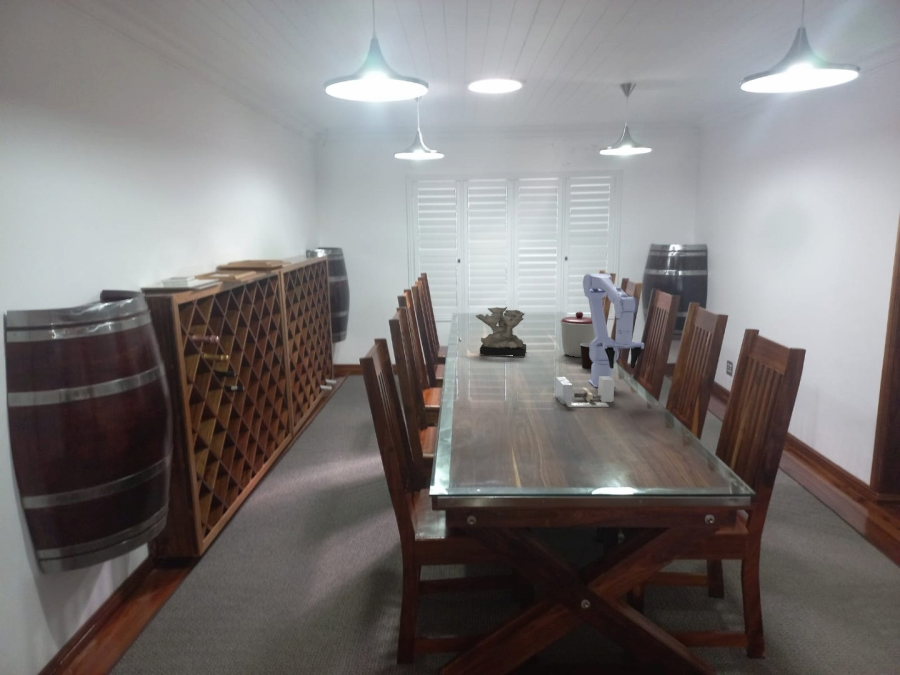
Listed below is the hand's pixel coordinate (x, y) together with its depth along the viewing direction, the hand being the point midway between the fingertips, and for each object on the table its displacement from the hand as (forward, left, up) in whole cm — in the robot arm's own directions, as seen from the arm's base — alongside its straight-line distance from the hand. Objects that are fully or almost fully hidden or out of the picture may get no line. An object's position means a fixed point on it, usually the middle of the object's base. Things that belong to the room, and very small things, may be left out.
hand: (621, 367), depth 213 cm
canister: (-70, +3, -11) cm, 71 cm away
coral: (-78, -33, -11) cm, 85 cm away
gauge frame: (+6, -16, -10) cm, 20 cm away
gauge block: (+5, -8, -10) cm, 14 cm away
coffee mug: (-45, +3, -11) cm, 46 cm away
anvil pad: (+7, -16, -10) cm, 20 cm away
